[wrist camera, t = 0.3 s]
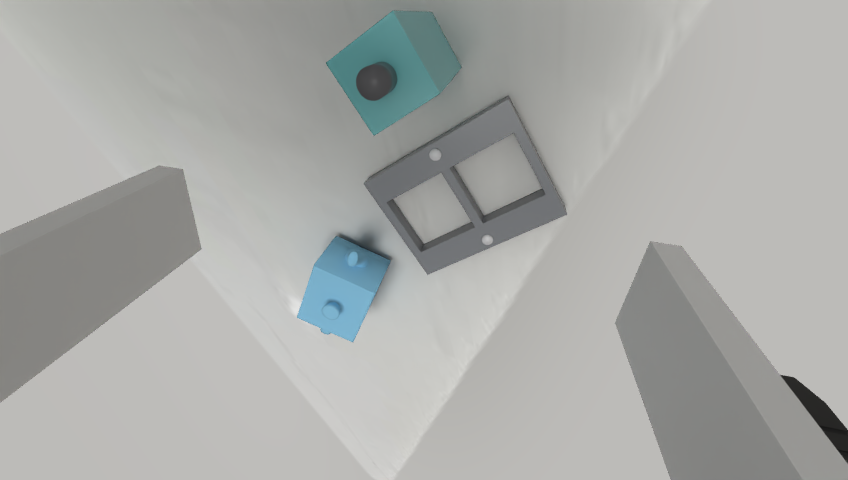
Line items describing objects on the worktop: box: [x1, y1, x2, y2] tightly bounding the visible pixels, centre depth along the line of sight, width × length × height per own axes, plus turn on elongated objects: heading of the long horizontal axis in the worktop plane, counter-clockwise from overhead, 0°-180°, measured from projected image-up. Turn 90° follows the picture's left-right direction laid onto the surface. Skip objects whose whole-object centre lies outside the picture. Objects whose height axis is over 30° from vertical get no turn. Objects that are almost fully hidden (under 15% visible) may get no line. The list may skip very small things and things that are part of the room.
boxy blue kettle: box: [297, 236, 390, 342], centre depth 39 cm, size 12×6×8 cm, turn 157°
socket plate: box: [364, 96, 567, 275], centre depth 36 cm, size 11×14×2 cm
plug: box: [326, 11, 462, 135], centre depth 25 cm, size 4×4×14 cm
